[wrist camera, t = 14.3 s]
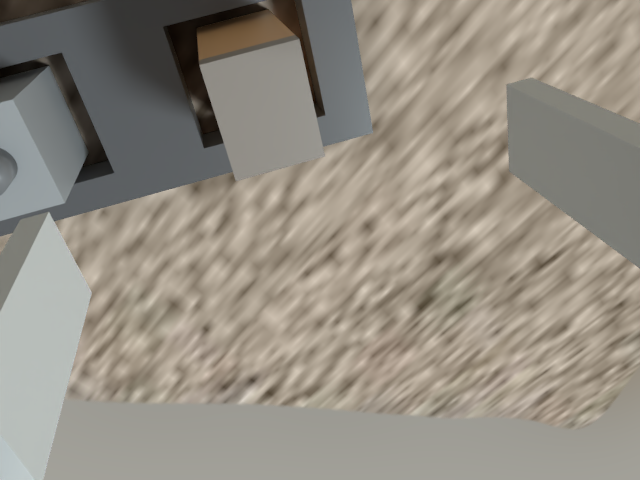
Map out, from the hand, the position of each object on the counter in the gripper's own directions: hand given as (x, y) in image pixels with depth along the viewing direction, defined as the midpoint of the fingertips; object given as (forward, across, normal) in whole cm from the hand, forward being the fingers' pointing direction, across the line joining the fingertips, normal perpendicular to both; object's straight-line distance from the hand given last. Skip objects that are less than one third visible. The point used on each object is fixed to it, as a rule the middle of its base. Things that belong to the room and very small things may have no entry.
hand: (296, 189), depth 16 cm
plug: (+18, 0, 0) cm, 18 cm away
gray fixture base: (+18, -6, 0) cm, 19 cm away
